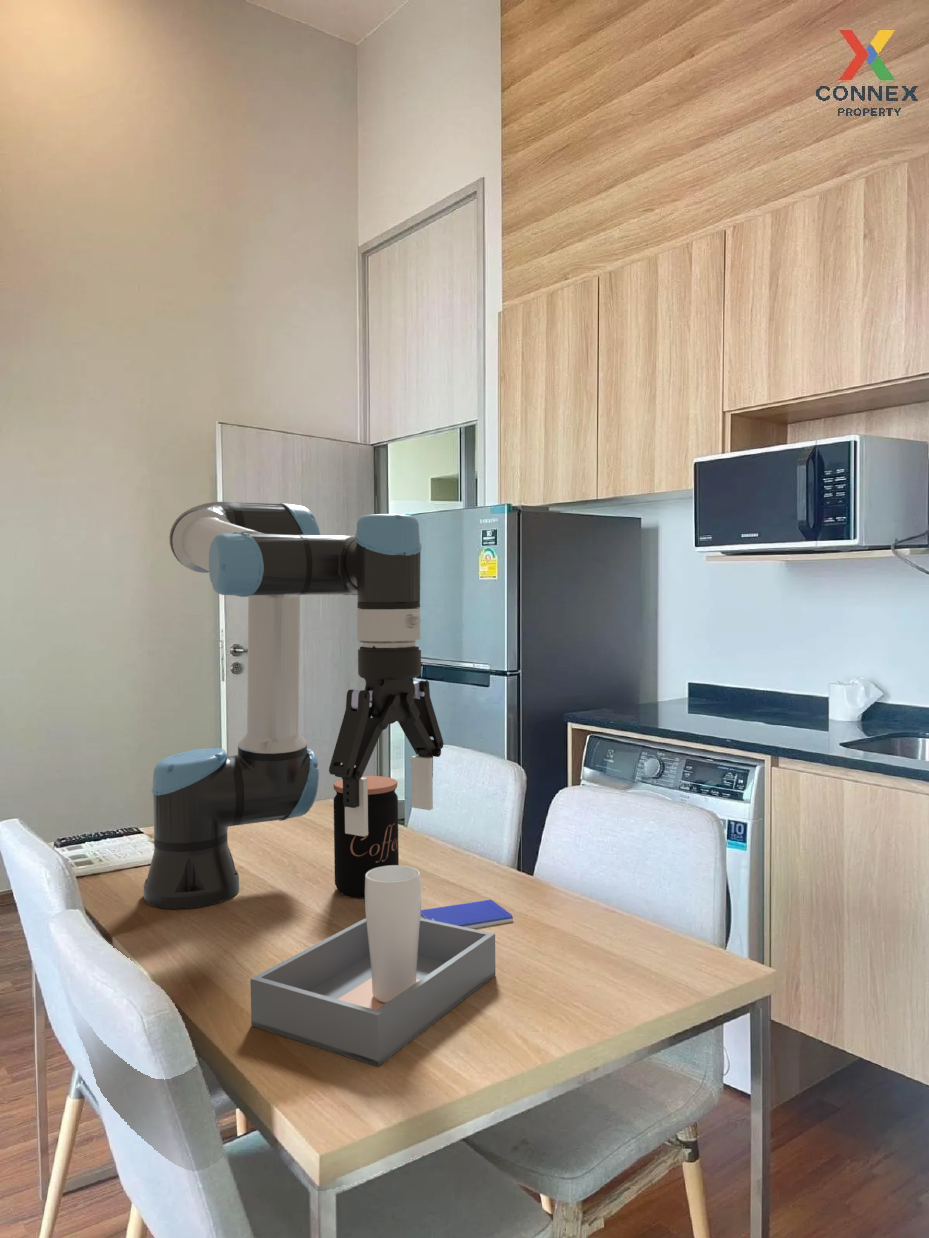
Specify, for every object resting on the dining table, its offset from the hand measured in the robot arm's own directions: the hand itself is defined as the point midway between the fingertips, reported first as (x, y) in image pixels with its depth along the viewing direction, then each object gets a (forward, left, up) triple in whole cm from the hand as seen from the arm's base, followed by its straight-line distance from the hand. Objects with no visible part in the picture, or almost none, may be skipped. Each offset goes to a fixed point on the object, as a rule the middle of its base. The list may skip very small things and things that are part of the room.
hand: (391, 820), depth 109 cm
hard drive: (-7, +28, -23) cm, 37 cm away
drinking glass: (0, 0, -22) cm, 22 cm away
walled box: (-2, 0, -22) cm, 22 cm away
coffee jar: (-28, +32, -22) cm, 48 cm away
